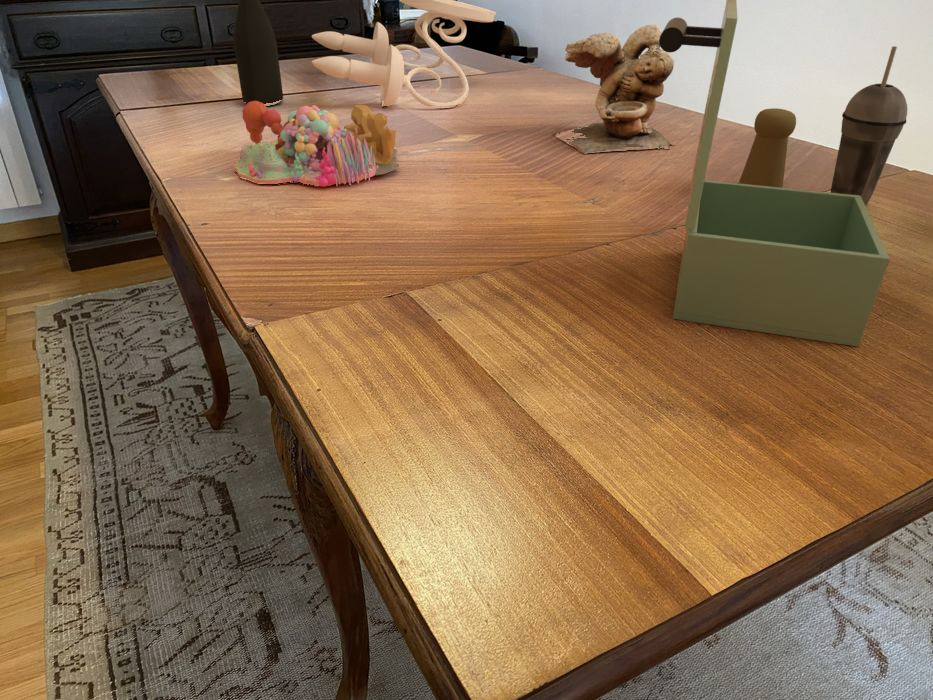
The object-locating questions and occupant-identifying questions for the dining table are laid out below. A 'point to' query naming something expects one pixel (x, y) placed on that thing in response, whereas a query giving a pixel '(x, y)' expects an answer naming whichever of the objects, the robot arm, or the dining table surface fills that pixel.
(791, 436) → the dining table surface
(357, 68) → the candelabra
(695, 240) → the bin
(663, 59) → the cherub figurine
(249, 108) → the pastel sphere sculpture
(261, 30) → the wine bottle
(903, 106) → the beverage cup
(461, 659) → the dining table surface
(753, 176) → the brown knobbed peg
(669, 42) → the bin lid
